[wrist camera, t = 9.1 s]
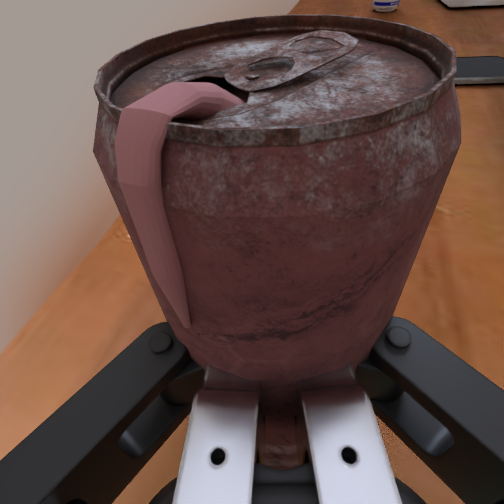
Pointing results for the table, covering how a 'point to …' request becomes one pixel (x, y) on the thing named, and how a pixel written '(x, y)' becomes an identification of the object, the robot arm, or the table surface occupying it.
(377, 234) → the can
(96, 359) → the table surface
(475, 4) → the file sorter
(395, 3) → the beverage can
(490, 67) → the smartphone
